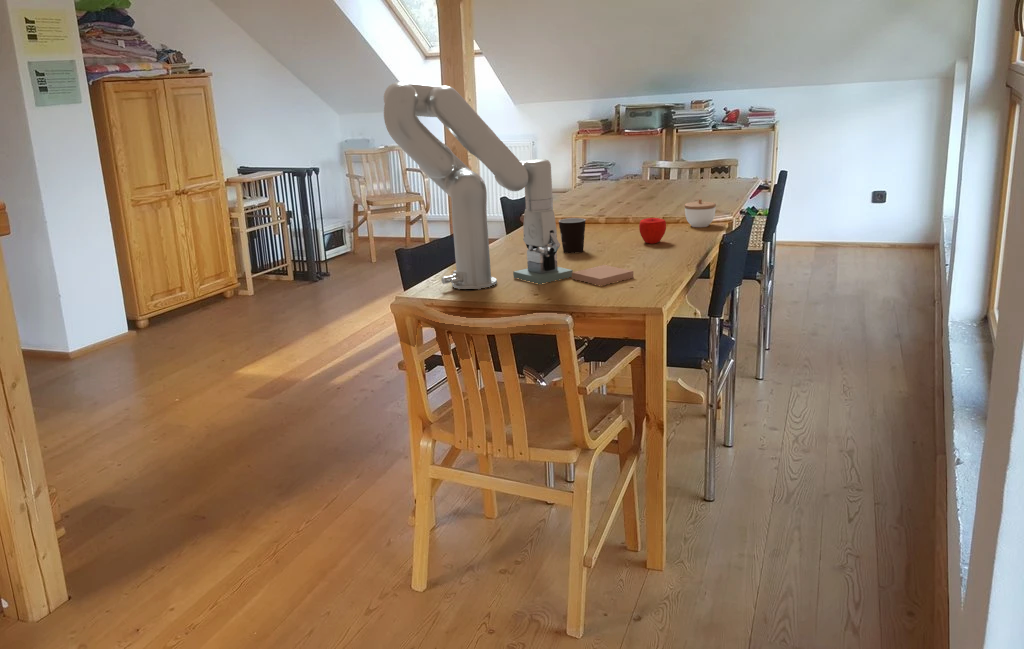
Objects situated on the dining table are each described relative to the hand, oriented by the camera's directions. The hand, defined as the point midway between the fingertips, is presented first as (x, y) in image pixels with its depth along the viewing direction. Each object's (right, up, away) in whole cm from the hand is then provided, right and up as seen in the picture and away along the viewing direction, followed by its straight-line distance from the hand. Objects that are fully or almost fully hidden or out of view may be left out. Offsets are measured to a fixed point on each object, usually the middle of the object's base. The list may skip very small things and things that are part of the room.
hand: (542, 267), depth 243 cm
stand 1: (0, -3, +1) cm, 3 cm away
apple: (+38, +11, +39) cm, 55 cm away
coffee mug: (+12, +8, +35) cm, 37 cm away
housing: (0, -1, 0) cm, 1 cm away
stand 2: (+16, -3, -5) cm, 17 cm away
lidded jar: (+58, +19, +62) cm, 87 cm away
